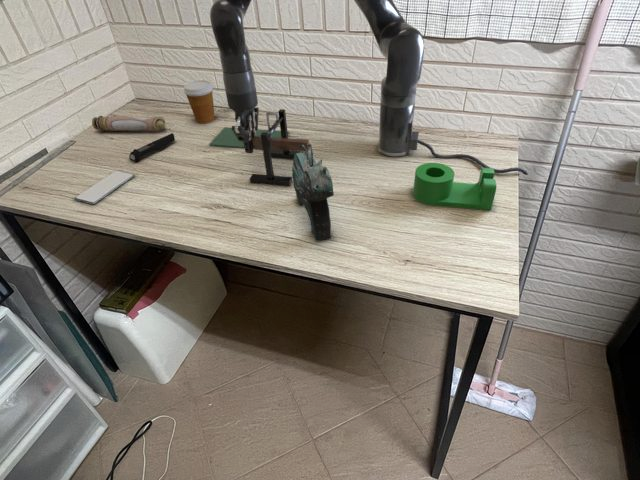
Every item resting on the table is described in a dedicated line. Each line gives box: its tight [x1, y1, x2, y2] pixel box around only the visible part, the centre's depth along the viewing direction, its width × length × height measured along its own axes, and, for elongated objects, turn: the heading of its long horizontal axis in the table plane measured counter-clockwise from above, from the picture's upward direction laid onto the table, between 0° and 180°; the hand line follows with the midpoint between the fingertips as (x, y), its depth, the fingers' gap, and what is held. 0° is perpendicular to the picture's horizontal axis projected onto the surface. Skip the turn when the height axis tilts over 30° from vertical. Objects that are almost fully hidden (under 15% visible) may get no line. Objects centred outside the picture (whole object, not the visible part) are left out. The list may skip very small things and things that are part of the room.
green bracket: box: [412, 162, 497, 211], centre depth 102 cm, size 18×9×6 cm, turn 78°
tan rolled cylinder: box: [91, 115, 166, 132], centre depth 141 cm, size 6×25×5 cm, turn 82°
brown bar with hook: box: [243, 111, 311, 152], centre depth 111 cm, size 18×2×10 cm, turn 76°
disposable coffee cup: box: [183, 79, 216, 124], centre depth 143 cm, size 10×10×12 cm
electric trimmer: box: [128, 132, 176, 163], centre depth 130 cm, size 4×16×3 cm, turn 143°
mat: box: [208, 127, 290, 151], centre depth 133 cm, size 22×12×1 cm, turn 76°
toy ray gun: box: [291, 143, 335, 242], centre depth 93 cm, size 20×6×20 cm, turn 17°
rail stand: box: [249, 108, 305, 188], centre depth 114 cm, size 16×11×14 cm
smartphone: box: [74, 170, 135, 205], centre depth 115 cm, size 7×1×15 cm
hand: (251, 150), depth 117 cm, fingers closed on brown bar with hook, 2 cm apart
